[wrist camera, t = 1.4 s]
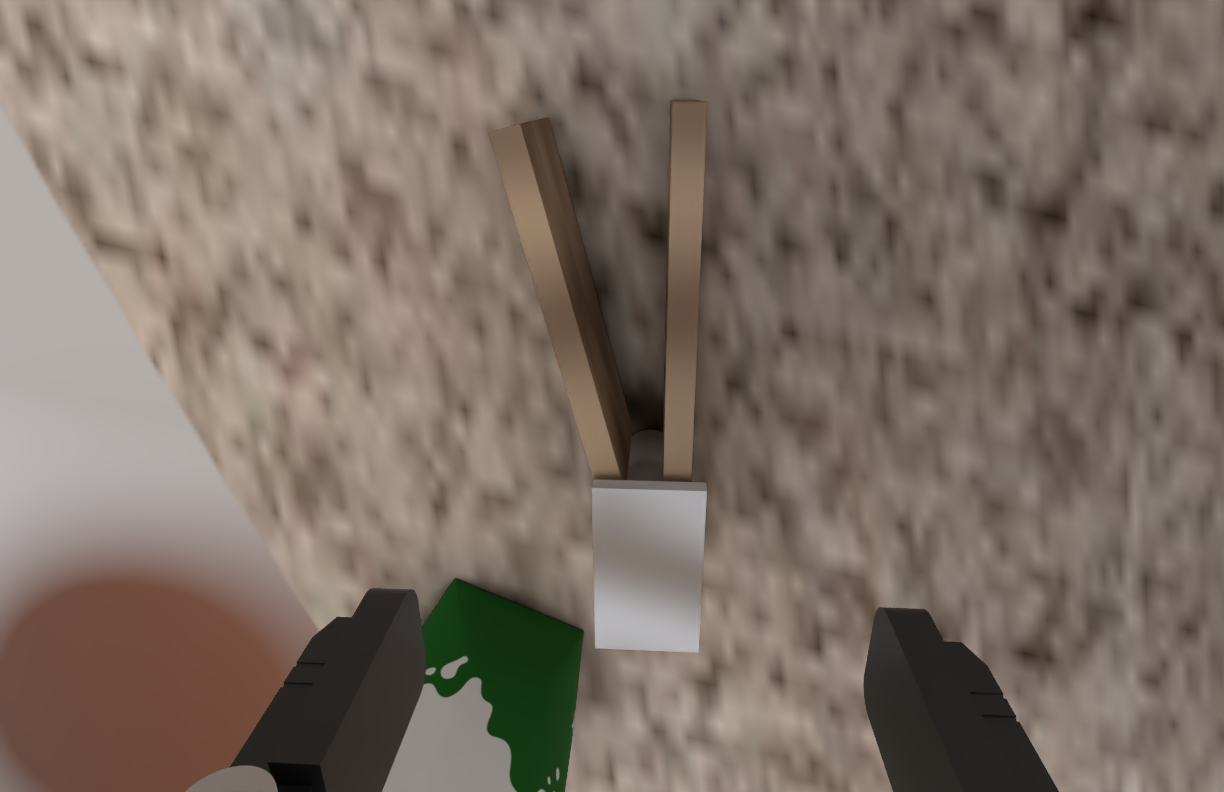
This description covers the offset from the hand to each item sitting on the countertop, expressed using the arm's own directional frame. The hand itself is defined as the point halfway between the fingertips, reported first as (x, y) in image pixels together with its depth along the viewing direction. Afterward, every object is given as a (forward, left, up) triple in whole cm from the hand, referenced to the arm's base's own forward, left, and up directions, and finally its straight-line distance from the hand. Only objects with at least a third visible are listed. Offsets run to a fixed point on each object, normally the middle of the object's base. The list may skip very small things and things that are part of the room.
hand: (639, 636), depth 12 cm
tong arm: (+2, 0, -18) cm, 18 cm away
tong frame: (0, +1, -18) cm, 18 cm away
